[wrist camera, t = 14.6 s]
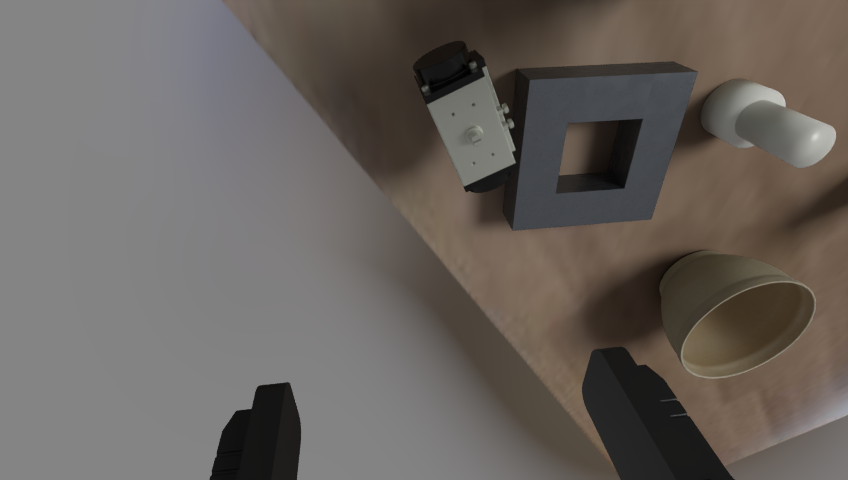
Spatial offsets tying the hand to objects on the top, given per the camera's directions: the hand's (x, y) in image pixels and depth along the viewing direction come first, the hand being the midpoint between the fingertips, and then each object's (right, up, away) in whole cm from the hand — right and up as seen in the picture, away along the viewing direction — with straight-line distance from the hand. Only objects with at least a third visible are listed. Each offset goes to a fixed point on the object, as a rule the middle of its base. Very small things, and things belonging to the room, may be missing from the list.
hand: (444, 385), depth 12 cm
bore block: (+16, +14, +37) cm, 43 cm away
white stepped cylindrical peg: (+32, +18, +37) cm, 52 cm away
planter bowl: (+37, -1, +51) cm, 62 cm away
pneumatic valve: (+2, +18, +32) cm, 37 cm away
